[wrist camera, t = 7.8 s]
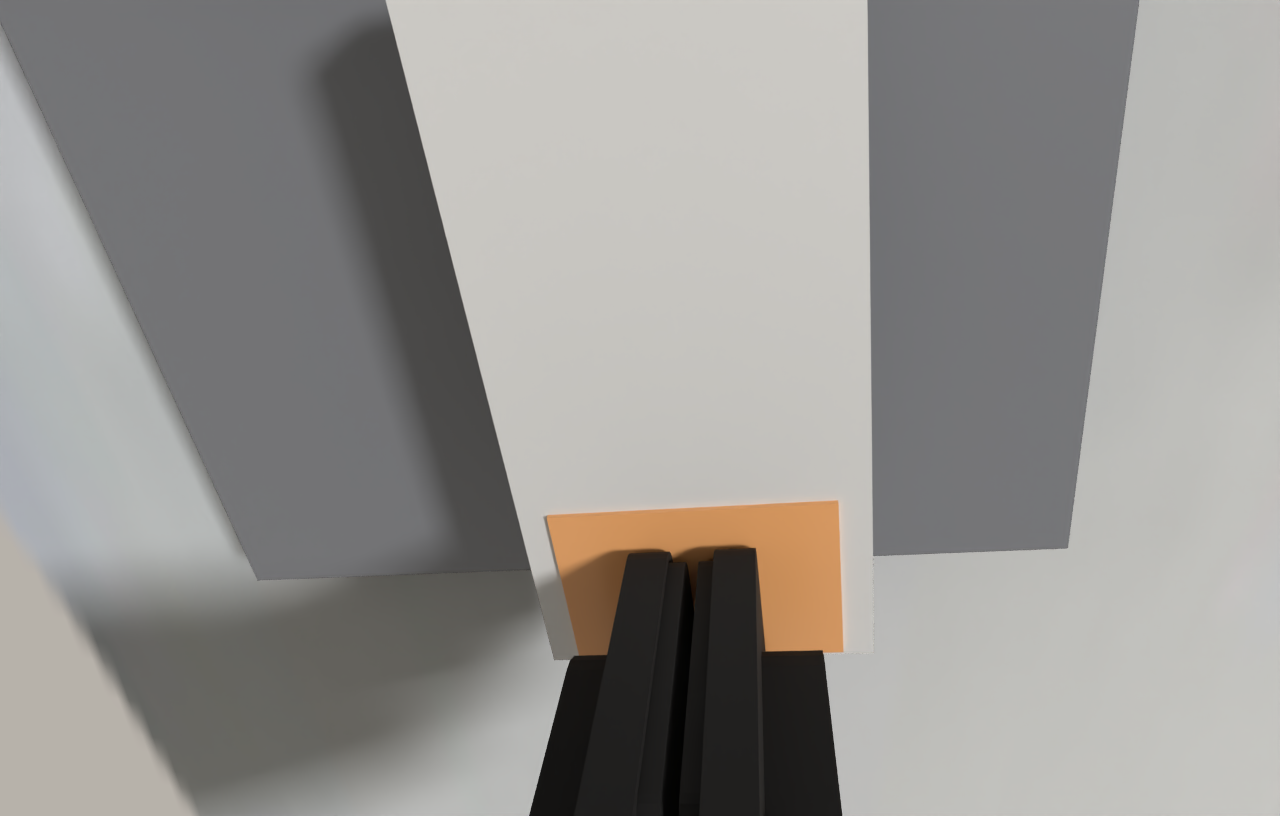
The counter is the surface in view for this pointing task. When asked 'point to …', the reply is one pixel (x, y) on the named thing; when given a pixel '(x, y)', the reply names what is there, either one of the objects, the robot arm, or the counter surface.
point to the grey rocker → (665, 288)
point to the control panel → (431, 300)
